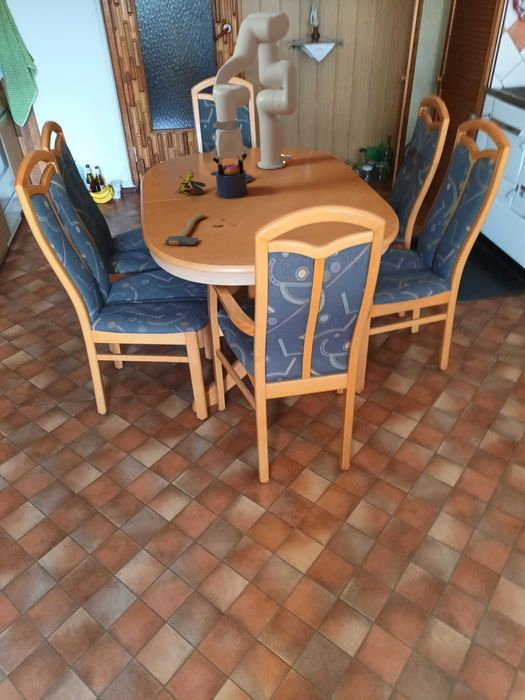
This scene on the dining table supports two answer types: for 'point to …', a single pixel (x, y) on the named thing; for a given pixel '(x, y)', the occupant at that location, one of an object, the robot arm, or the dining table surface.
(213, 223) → the dining table surface
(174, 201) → the dining table surface
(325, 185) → the dining table surface
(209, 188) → the dining table surface
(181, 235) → the hand axe
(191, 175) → the toy
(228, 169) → the donut
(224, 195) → the pot
